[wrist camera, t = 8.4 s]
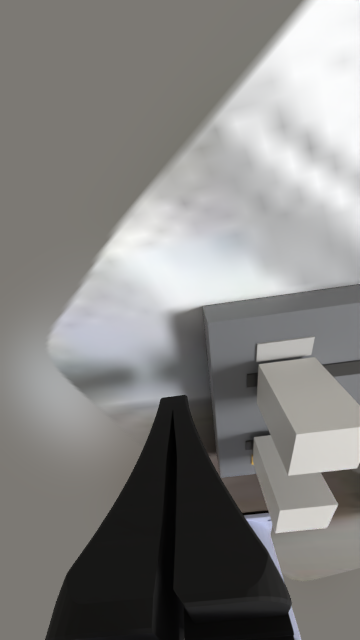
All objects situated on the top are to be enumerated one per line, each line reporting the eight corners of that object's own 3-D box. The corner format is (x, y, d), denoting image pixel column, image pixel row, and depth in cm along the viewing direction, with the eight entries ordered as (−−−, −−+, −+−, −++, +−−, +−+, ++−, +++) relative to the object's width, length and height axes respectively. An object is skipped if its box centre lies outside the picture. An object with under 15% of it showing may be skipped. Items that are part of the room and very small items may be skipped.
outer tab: (306, 395, 13) (357, 468, 9) (256, 402, 13) (288, 475, 9) (314, 357, 11) (378, 425, 8) (258, 364, 12) (296, 434, 8)
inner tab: (292, 456, 16) (326, 527, 12) (252, 461, 16) (275, 533, 13) (298, 431, 15) (338, 504, 11) (253, 437, 15) (279, 510, 11)
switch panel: (394, 432, 19) (418, 457, 17) (216, 453, 20) (221, 478, 18) (488, 266, 12) (546, 278, 10) (202, 306, 12) (208, 324, 11)
